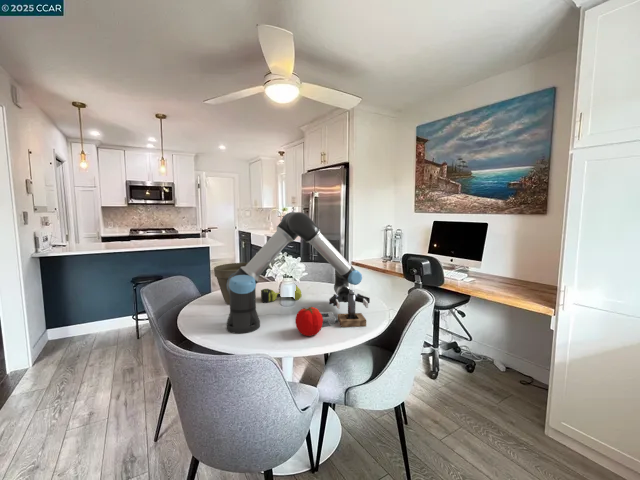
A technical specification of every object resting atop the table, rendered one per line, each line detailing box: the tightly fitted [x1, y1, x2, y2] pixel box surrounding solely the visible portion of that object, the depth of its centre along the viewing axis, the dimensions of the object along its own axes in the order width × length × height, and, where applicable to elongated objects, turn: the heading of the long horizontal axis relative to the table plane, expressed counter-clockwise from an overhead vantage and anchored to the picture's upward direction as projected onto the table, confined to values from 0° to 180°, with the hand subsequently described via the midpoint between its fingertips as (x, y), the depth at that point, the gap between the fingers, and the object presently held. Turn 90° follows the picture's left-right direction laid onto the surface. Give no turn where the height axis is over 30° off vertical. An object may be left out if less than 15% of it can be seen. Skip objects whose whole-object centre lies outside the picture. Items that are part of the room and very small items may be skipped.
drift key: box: [322, 323, 331, 328], centre depth 139 cm, size 8×2×1 cm, turn 111°
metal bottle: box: [347, 289, 357, 319], centre depth 143 cm, size 4×4×16 cm
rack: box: [336, 312, 367, 328], centre depth 143 cm, size 12×10×3 cm
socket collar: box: [319, 311, 336, 325], centre depth 147 cm, size 10×10×2 cm
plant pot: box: [213, 262, 249, 305], centre depth 177 cm, size 25×25×22 cm
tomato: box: [294, 306, 323, 337], centre depth 131 cm, size 12×13×12 cm
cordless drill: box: [260, 284, 303, 304], centre depth 189 cm, size 7×25×25 cm
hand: (353, 305), depth 139 cm, fingers open, 13 cm apart
